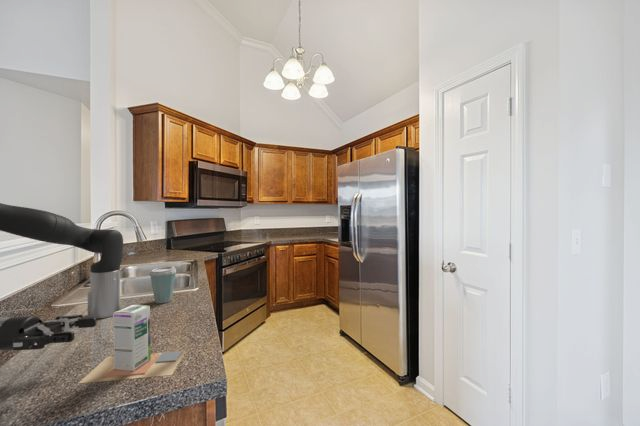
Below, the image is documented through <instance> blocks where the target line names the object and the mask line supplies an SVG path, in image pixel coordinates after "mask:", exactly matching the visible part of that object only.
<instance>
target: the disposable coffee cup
mask: <svg viewBox="0 0 640 426" xmlns="http://www.w3.org/2000/svg"><path fill="white" fill-rule="evenodd" d="M176 273H177V269H176V268H175V266H171V265H168V266H161V267H157V268H154V269H151V271H150V272H149V276H150V282H151V286H152V287H151V288H152V292H153V297H154V301H155V303H156V304H166V303H169V302H171V301H172V299H173V294H174V286H175V278H176Z"/></svg>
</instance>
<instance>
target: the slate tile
mask: <svg viewBox="0 0 640 426" xmlns="http://www.w3.org/2000/svg"><path fill="white" fill-rule="evenodd" d="M182 351H183V350H178V351H177V350H176V351H175V350H174V351H163V352H161V353H162V354H161V355H160V357H159V358H158V359H157V360H156V363H160V362H172V361H177V359H178V357H179V356H180V354H181V353H182Z"/></svg>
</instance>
